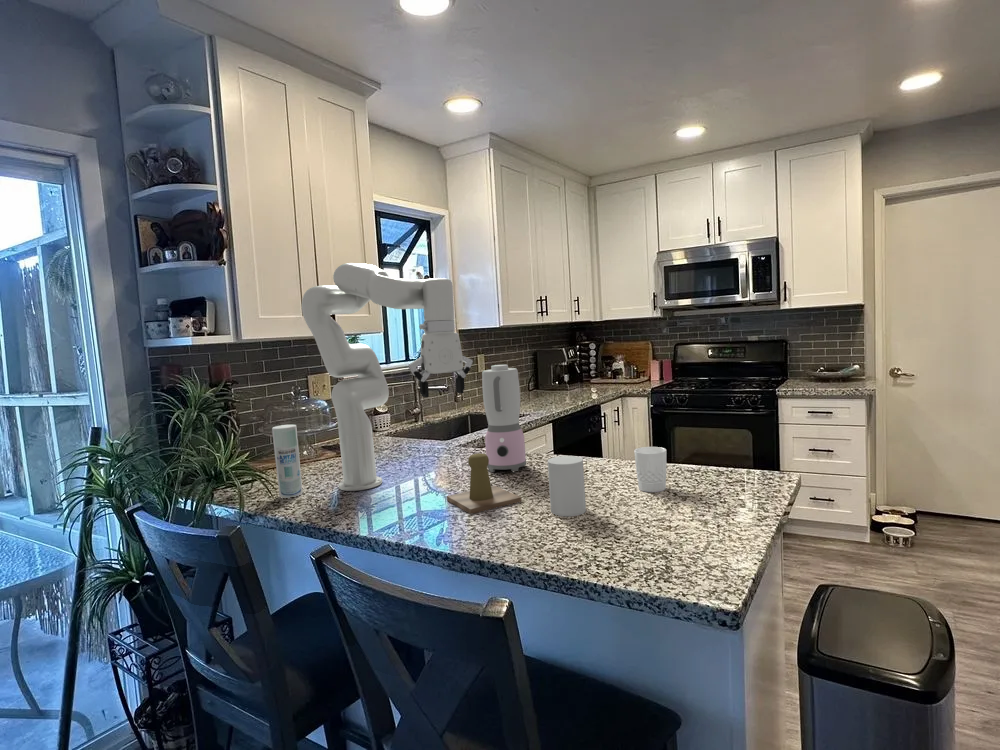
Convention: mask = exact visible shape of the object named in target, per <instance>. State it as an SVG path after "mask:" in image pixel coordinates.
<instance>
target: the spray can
mask: <svg viewBox="0 0 1000 750" xmlns="http://www.w3.org/2000/svg"><path fill="white" fill-rule="evenodd" d="M297 430H298V429H297V424H282V425H275V426H273V427H272V428H271V434H272V441H273V442H272V443H273V451H274V458H275V467H276V468H275V469H276V476H277V485H278V486H277V487H278V494H279V498H280V497H282V498H281V499H283V498H288V499H291V498H290V497H295V498H297V497H296V496H298V497H300V496H299V495H301V494H302V495H303V493H304V492H303V484H302V471H301V462H300V449H299V440H298V431H297ZM302 495H301V496H302Z"/></svg>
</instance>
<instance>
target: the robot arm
mask: <svg viewBox="0 0 1000 750" xmlns="http://www.w3.org/2000/svg"><path fill="white" fill-rule="evenodd" d="M332 276H333V277H332V280H333V283H334V284H335V285H326V284H325V285H317V286H316V285H315V286H312V287H310V288H308V289H307V290H306V291H305V292H304V294H303V295H302V299H301V300H302V301H301V311H302V316H303V318H304V321H305V324H306V325H307V327H308V329H309V330H310V332H311V334H312V336H313V338H314V340H315V343H316V345H317V349H318V351H319V354H320V356H321V358H322V361H323V364H324V366H325V369H326V371H327V373H328V374H329V375H330V376H331V377H333V378H348V377H353V376H354V378H348V379H344V380H341V381H339V382H337V383H336V384H334V386H333V388H332V390H331V402H332V405H333V409H334V411H335V416H336V422H337V428H338V437H339V448H340V456H341V457H340V458H341V469H342V478H343V480H342V481H340V482H339V483H338V485H337V486H338V489H339V490H341V491H346V492H358V491H364V490H369V489H373V488H376V487H378V486H380V485H382V483H383V478H382V477H381V476H377V468H376V467H377V466H376V459H375V458H376V456H375V446H374V436H373V425H372V423H371V419H370V418H369V416H368V415H367V413H366V411H365V410H368V409H374V408H377V407H381V406H383V405H384V404H385V403H387V402H388V400H389V396H390V395H389V394H390V393H389V392H390V391H389V385H388V382H387V380H386V377H385V374H384V372H383V369H382V367H381V365H380V361H379V359H378V357H377V355H376V353H375V351H374V350H373V349H372V348H371V347H370V346H369V345H368V344H363V343H352V344H351V343H349V341H348V339H347V337H346V335H345V331H344V330H343V327H342V326H341V325H340V324H339V322H337V321H336V320H335V319H334V318H332V316H331V315H351V314H355V313H357V312H359V311H361V310H362V309H363V308H364V307H365V306H366V305H367V304H368V303H369V302H370V301H372V302H373V304H376V305H378V306H381V307H382V306H383V307H385V308H390V309H395V310H412V309H413V310H417V309H418V310H423V317H424V318H423V320H424V321H423V323H420V324H419V326H418V327H419V330H422V331H423V332H424V333H423V334H422V336H421V337H422V338H421V344H420V357H418V358H417V359H416V360H413V361H412V362H410V363H408V369H409V370H410V373H411V374H412V376H413V377H415V378H416V379H417V381H419V382H418V383H419V393H420V394H421V397H423V398H428V397H429V395H430V394H429V381H427V379H428V378H429V377H430V375H431V374H434V375H435V374H445V373H446V374H448V373H454V374H455V375H456V377H455V392H456V393H457V394H460V395H461V394H464V391H465V378H466V376H467V375H468V373H469V372H471V367H472V365H473V362H474V361H473V359H471V358H469V357H466V356H465V355H463V352H462V351H463V350H462V345H461V339H460V335H459V333H458V332H456V331H455V308H454V286H453V282H452V280H451V279H449V278H445V277H443V278H441V277H440V278H439V277H438V278H437V277H436V278H435V277H434V278H427V279H413V278H412V279H409V278H394V277H389V274H388V273H387V272H386V271H385V270H383V269H381V268H379V267H378V266H376V265H375V264H374V265H373V264H370V263H369V264H367V263H354V262H349V263H343V264H341V265H339V266H337V267H336V268H335V270H334V272H333V275H332ZM418 366H420V370H421V372H419V371H418V369H417V367H418ZM355 376H357V377H356V378H355Z"/></svg>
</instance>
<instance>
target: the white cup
mask: <svg viewBox="0 0 1000 750" xmlns="http://www.w3.org/2000/svg"><path fill="white" fill-rule="evenodd" d="M633 452H634V462H635V472H636V473H635V474H636V479H637V484H638V487H637V488H638V489H639V490H640V492H641V491H642V492H645V493H660V492H663V491H665V490H667V481H666V480H667V479H666V478H667V449H666V448H665V447H662V446H661V447H660V446H659V447H658V446H643V447H642V446H641V447H638V448H637V447H636V448H635V449H634V450H633Z"/></svg>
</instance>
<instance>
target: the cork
mask: <svg viewBox="0 0 1000 750" xmlns="http://www.w3.org/2000/svg"><path fill="white" fill-rule="evenodd" d="M467 462H468V466H469V467H470V481H469V482H470V483H469V491H470V499H471V500H475V501H481V500H487V499H490V498H492V497H493V493H492V488H491V486H492V484H491V478H490V475H489V468H488V467H487V466H488V464H489V459H488V456H487V455H486V453H473V454H471V455H469V457H468V461H467Z"/></svg>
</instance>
